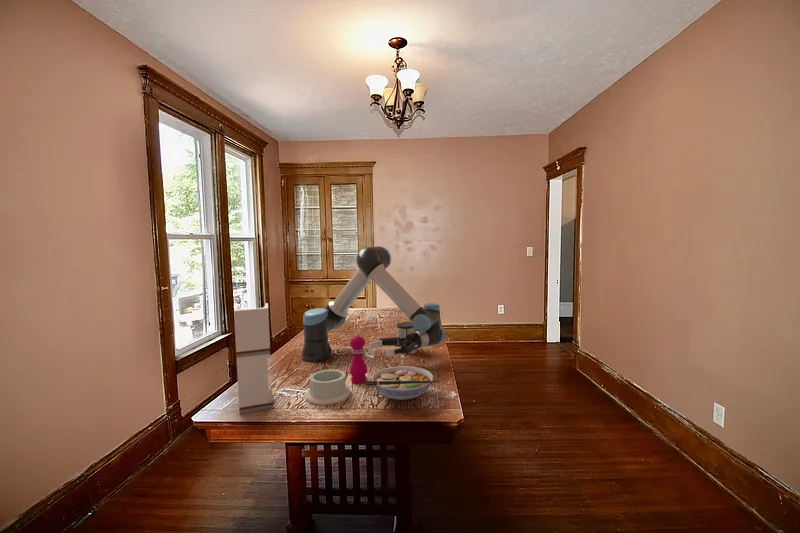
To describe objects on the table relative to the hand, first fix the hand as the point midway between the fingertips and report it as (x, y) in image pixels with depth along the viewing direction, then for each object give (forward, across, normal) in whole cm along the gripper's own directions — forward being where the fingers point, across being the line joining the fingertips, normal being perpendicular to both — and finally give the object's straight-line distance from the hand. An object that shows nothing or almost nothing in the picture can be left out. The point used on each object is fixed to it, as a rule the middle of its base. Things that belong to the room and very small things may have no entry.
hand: (377, 349), depth 154 cm
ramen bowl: (+5, -23, -12) cm, 26 cm away
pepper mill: (+10, 0, -11) cm, 15 cm away
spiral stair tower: (+49, +5, -11) cm, 50 cm away
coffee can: (-30, +19, -11) cm, 37 cm away
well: (+26, -5, -11) cm, 29 cm away
